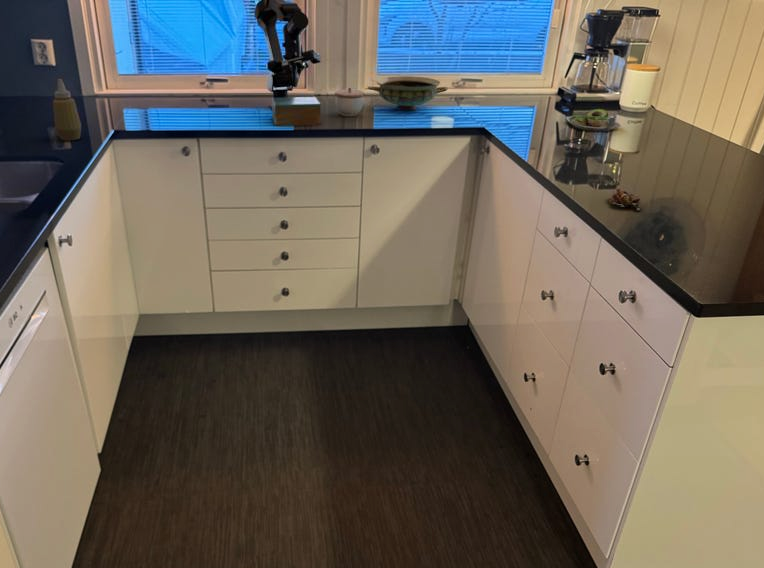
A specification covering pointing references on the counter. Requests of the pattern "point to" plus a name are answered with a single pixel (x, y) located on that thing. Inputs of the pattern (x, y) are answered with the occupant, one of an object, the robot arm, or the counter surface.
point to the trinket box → (349, 101)
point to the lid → (296, 102)
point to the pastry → (624, 199)
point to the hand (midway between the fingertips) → (294, 86)
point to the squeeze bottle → (66, 114)
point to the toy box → (296, 115)
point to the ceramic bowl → (408, 90)
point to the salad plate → (593, 121)
